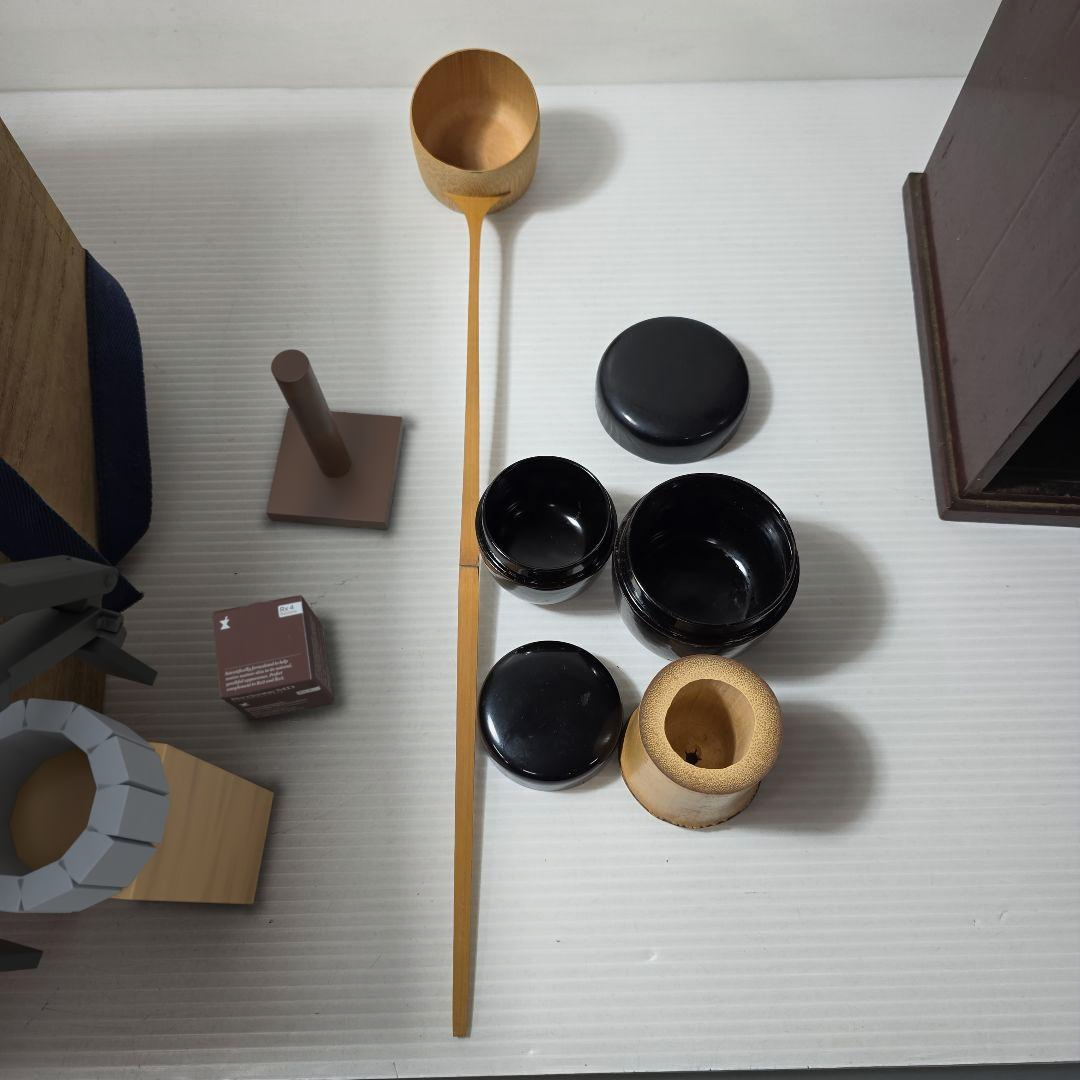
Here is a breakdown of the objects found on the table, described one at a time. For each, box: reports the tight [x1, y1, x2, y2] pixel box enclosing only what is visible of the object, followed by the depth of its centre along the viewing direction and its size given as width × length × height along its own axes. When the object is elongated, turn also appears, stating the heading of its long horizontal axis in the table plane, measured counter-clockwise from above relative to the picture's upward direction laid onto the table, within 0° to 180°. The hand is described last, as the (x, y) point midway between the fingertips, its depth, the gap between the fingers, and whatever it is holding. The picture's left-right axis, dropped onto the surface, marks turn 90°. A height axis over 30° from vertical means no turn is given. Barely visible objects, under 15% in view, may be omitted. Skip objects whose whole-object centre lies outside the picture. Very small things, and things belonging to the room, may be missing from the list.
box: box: [211, 594, 334, 720], centre depth 65 cm, size 6×6×7 cm
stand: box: [9, 741, 275, 905], centre depth 55 cm, size 7×7×20 cm
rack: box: [265, 348, 405, 531], centre depth 67 cm, size 9×9×16 cm
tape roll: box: [0, 697, 171, 914], centre depth 43 cm, size 9×9×5 cm
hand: (75, 805), depth 47 cm, fingers open, 13 cm apart
